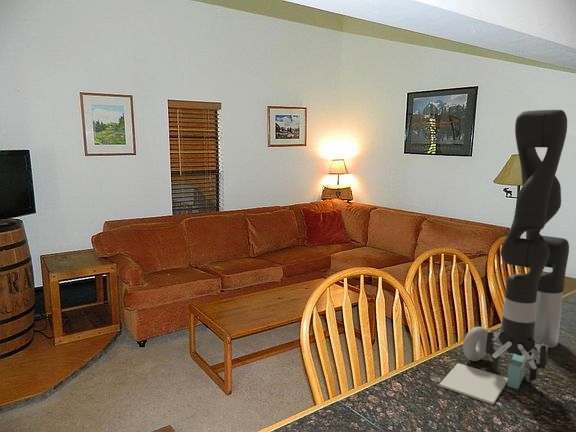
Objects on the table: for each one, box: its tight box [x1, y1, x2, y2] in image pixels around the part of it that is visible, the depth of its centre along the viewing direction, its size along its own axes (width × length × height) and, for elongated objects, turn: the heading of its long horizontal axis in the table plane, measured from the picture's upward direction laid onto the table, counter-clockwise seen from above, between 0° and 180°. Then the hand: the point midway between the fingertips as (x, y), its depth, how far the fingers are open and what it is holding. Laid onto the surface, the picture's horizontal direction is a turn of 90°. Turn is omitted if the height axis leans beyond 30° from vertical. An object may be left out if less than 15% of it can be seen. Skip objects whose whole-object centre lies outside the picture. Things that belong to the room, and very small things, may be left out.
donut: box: [462, 326, 489, 362], centre depth 128 cm, size 10×4×10 cm, turn 122°
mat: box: [438, 362, 508, 405], centre depth 116 cm, size 14×13×1 cm
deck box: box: [506, 354, 527, 390], centre depth 117 cm, size 8×3×6 cm, turn 143°
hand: (513, 375), depth 118 cm, fingers open, 8 cm apart
